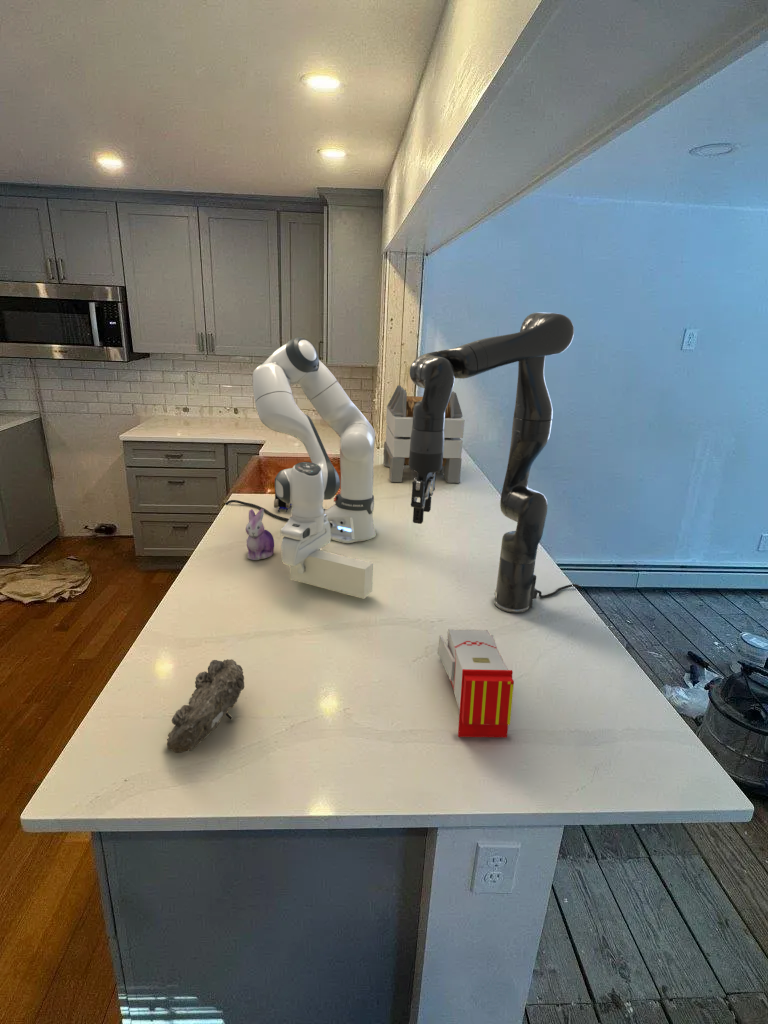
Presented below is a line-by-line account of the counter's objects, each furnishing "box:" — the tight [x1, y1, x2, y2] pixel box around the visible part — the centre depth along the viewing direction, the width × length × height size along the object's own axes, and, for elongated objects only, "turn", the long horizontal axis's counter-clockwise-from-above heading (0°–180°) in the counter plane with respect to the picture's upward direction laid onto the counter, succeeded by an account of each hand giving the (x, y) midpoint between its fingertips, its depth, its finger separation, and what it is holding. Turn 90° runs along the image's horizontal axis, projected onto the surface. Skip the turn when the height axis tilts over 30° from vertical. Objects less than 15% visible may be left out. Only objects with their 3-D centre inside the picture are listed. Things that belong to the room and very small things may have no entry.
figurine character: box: [273, 493, 292, 513], centre depth 219 cm, size 7×8×15 cm
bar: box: [289, 549, 374, 600], centre depth 156 cm, size 23×5×9 cm, turn 65°
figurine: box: [245, 507, 275, 561], centre depth 176 cm, size 9×10×15 cm
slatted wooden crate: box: [383, 384, 465, 484], centre depth 268 cm, size 34×33×41 cm
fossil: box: [166, 658, 245, 754], centre depth 106 cm, size 22×10×15 cm
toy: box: [437, 628, 515, 738], centre depth 117 cm, size 12×13×30 cm
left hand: (307, 568), depth 159 cm, fingers closed on bar, 5 cm apart
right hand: (421, 516), depth 131 cm, fingers open, 8 cm apart
